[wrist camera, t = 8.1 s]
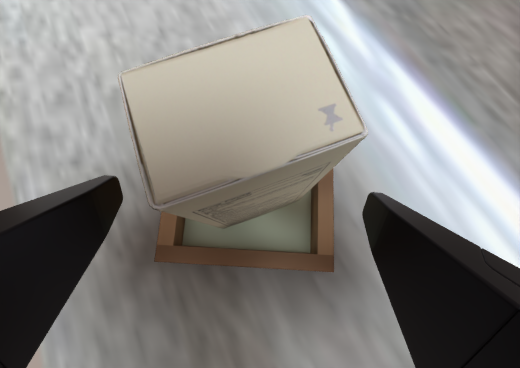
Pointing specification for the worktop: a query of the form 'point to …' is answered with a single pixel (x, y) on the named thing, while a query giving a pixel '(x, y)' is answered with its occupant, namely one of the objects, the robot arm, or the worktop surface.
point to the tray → (258, 237)
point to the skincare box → (240, 122)
